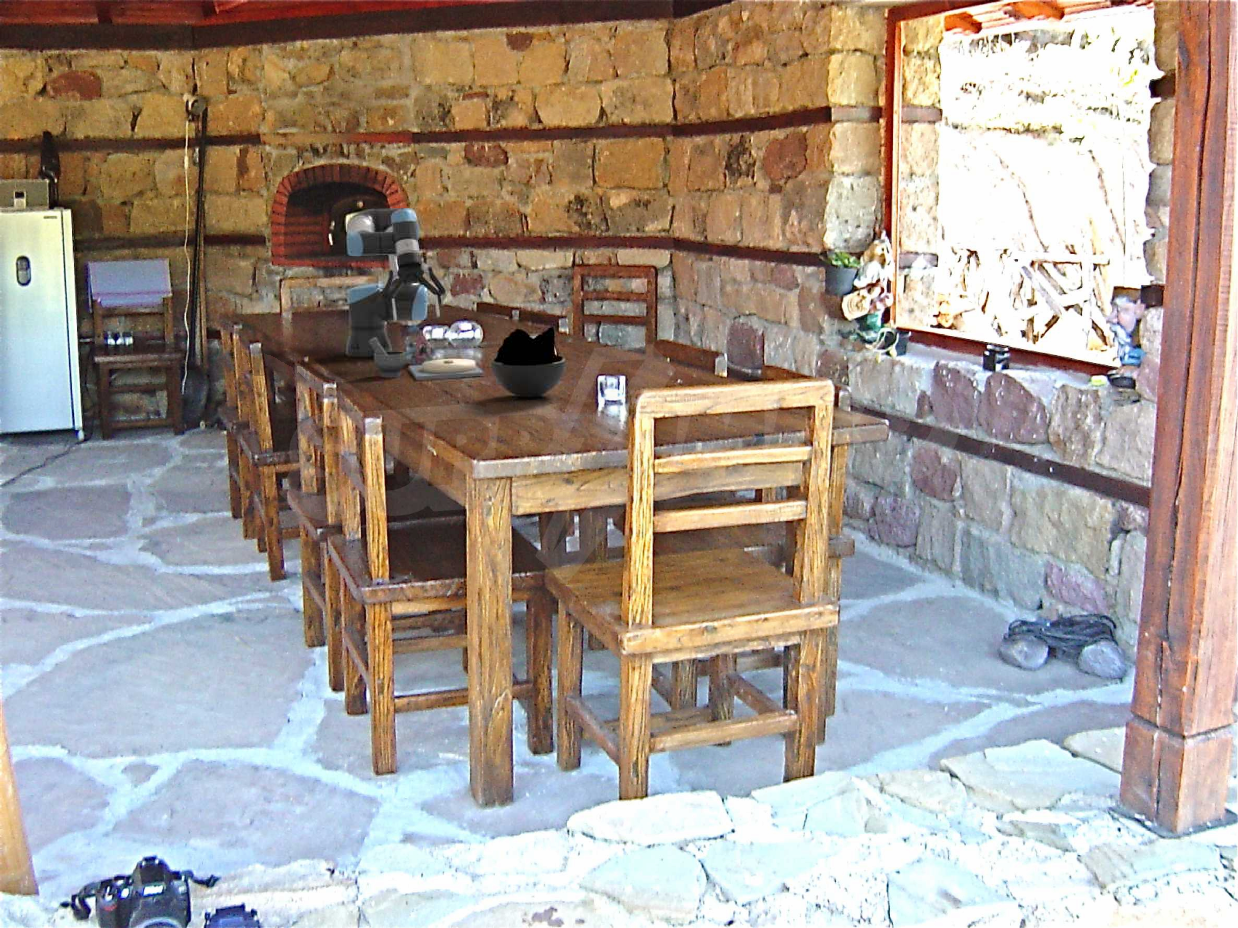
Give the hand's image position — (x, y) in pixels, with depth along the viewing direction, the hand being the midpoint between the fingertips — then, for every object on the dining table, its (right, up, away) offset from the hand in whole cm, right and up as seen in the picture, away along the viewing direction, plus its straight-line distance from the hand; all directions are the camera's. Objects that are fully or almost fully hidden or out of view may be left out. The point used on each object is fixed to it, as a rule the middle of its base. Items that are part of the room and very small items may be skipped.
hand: (417, 317), depth 418 cm
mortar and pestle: (-5, -20, -20) cm, 29 cm away
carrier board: (+11, -19, -16) cm, 27 cm away
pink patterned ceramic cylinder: (+1, -15, +1) cm, 15 cm away
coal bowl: (+40, -29, -60) cm, 78 cm away
